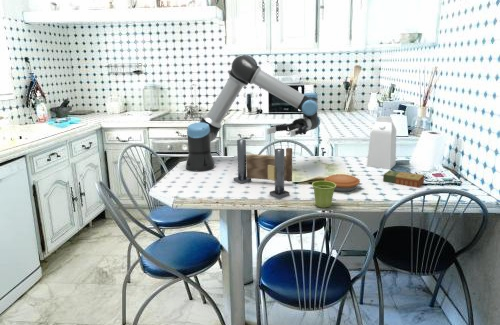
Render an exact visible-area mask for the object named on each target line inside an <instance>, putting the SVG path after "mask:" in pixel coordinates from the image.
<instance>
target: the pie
mask: <svg viewBox="0 0 500 325" xmlns="http://www.w3.org/2000/svg"><path fill="white" fill-rule="evenodd" d="M323 181H329V182H333V183H335V184H336V187H335V190H334V191H335V192H340V193H344V192H346V193H348V192H353V191H354V190H355V189H356V188H357V186H358V185H359V184H360V182H361V180H360V179H359V178H358V177H356V176H353V175H350V174H343V173H342V174H341V173H340V174H339V173H337V174H332V175H331V174H330V175H329V176H327V177H325V178H324V180H323Z"/></svg>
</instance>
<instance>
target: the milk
mask: <svg viewBox="0 0 500 325" xmlns="http://www.w3.org/2000/svg"><path fill="white" fill-rule="evenodd" d="M369 135H370V136H369V143H368V151H367V152H368V153H367V160H366V167H368V168H376V169H381V170H382V169H384V170H391V169H392V168H393V167H395V165H396V162H397V161H396V159H397V156H396V155H397V128H396V126H395V124H394V122H393V119H392V116H385V115H384V116H382V115H378V116H377V118H376V120H375V122H374V124H373V126H372V128H371V130H370V134H369Z"/></svg>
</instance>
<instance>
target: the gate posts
mask: <svg viewBox="0 0 500 325" xmlns="http://www.w3.org/2000/svg"><path fill="white" fill-rule="evenodd" d="M246 143H247V141H246V139H243V138H239V139H237V140H236V144H237V146H236V147H237V149H236V151H237V153H236V155H237V177H236V176H235V177H233V182H234V183H237V184H240V185H242V184H248V183H251V182H252V178H247V163H246V155H247V144H246ZM274 156H275V166H272V165H268V179H270V180H269V181H273V182H274V190H271V191H269V196H270V197H273V198H276V199H278V200H280V199H283V198H287V197H290V191H287V190H285V181H284V156H285V148H275V149H274Z"/></svg>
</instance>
